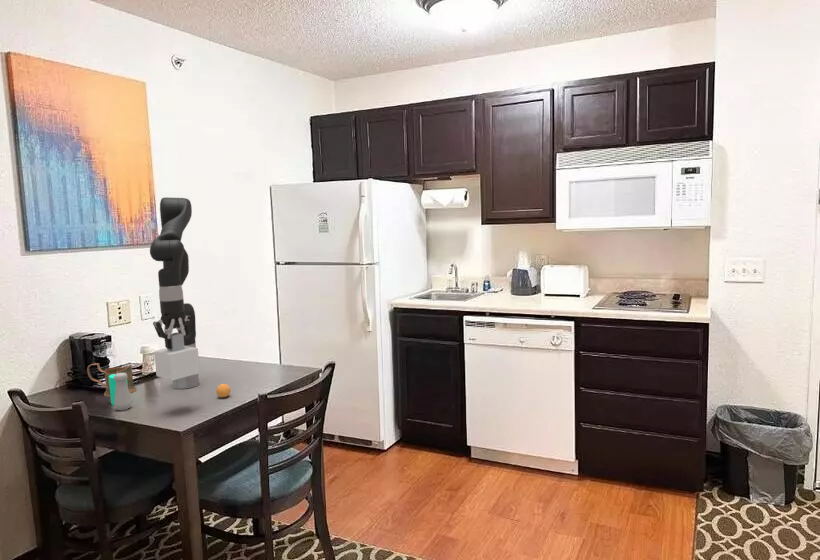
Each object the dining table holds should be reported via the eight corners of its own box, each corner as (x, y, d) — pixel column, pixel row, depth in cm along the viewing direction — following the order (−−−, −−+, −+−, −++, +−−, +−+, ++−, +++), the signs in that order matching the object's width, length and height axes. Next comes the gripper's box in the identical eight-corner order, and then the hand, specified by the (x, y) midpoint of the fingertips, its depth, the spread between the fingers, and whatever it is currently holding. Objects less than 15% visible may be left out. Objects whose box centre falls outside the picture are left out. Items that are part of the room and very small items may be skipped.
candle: (107, 404, 209) (104, 373, 208) (121, 399, 215) (117, 368, 213) (119, 406, 207) (116, 374, 206) (133, 400, 212) (129, 369, 211)
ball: (215, 399, 209) (214, 386, 208) (218, 395, 214) (217, 382, 213) (229, 398, 210) (228, 385, 209) (232, 394, 215) (231, 381, 214)
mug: (98, 389, 230) (95, 360, 229) (141, 387, 230) (138, 358, 229) (82, 398, 219) (78, 367, 217) (128, 396, 219) (124, 365, 217)
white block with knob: (172, 380, 190) (168, 338, 188) (156, 376, 196) (152, 335, 194) (199, 372, 198) (196, 332, 196) (183, 368, 204) (180, 329, 202)
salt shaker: (131, 410, 201) (127, 374, 200) (113, 412, 200) (109, 376, 198) (134, 405, 207) (130, 370, 206) (116, 407, 205) (113, 372, 204)
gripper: (157, 302, 186) (162, 353, 188) (196, 296, 197) (200, 344, 199) (145, 300, 190) (150, 350, 193) (184, 295, 202) (188, 342, 204)
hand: (175, 347), depth 196 cm, fingers closed on white block with knob, 4 cm apart
